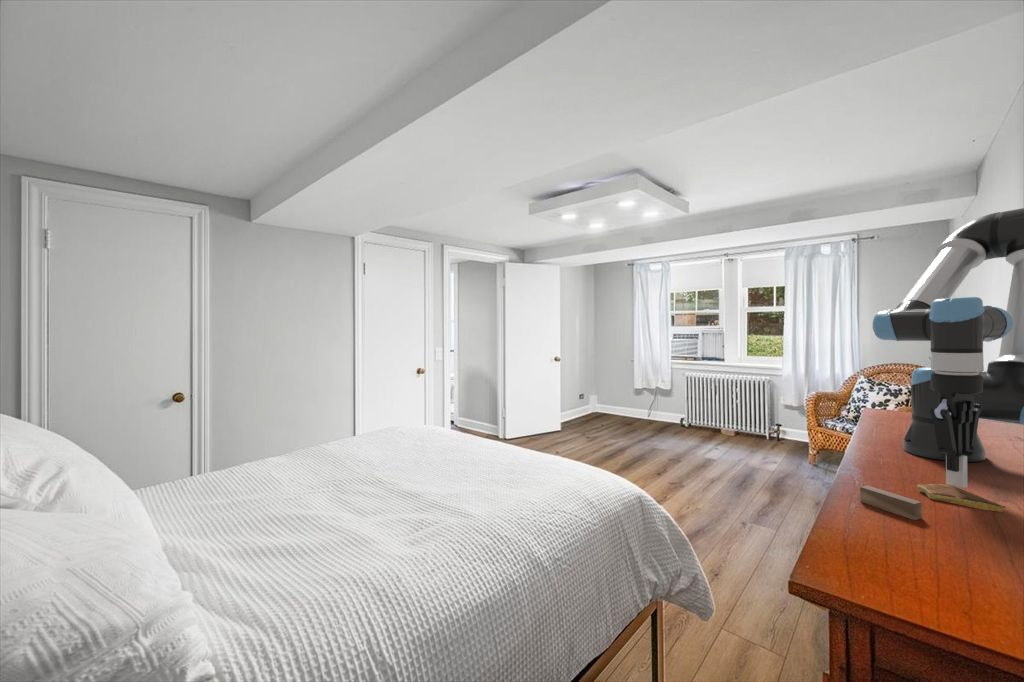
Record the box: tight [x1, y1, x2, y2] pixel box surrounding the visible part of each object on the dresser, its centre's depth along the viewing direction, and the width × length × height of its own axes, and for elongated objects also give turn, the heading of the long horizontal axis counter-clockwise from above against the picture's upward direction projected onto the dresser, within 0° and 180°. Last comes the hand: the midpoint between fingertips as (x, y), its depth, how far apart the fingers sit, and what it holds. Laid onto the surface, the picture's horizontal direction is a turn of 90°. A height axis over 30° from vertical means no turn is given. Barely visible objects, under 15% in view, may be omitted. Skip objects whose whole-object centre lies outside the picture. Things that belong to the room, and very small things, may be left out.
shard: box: [917, 483, 1007, 513], centre depth 84 cm, size 11×8×2 cm
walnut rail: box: [859, 485, 923, 521], centre depth 82 cm, size 2×9×3 cm, turn 19°
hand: (956, 485), depth 89 cm, fingers closed
